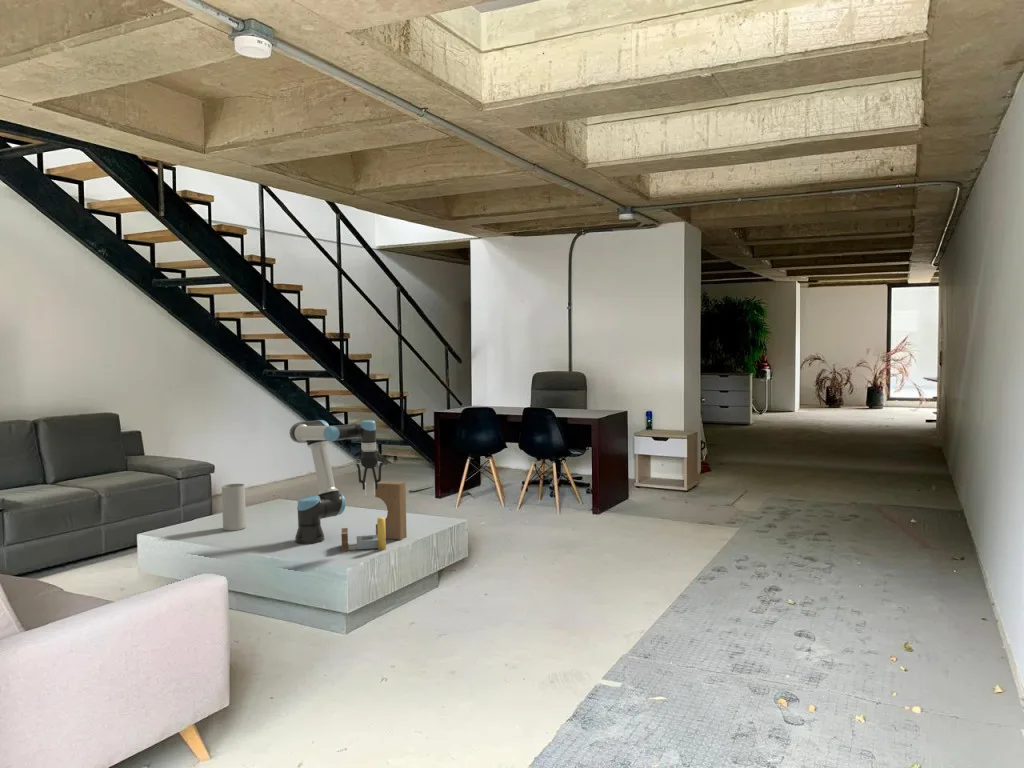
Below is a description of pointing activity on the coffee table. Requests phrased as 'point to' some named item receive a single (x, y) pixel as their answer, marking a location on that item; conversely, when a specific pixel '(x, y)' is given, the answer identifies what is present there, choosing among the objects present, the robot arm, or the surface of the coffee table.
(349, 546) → the dark grey flat board
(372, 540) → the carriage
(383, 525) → the dowel
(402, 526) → the decorative block
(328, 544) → the coffee table surface
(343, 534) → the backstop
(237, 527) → the cylinder vase
